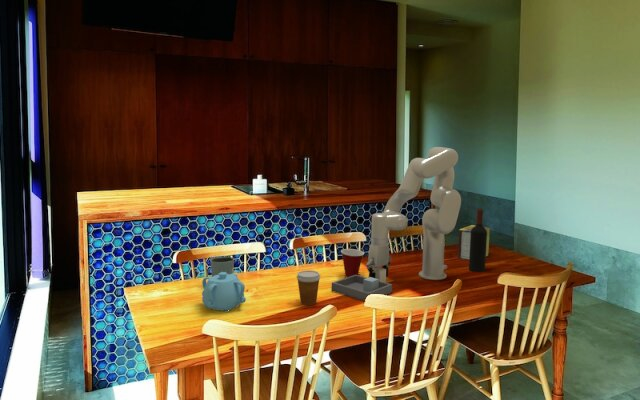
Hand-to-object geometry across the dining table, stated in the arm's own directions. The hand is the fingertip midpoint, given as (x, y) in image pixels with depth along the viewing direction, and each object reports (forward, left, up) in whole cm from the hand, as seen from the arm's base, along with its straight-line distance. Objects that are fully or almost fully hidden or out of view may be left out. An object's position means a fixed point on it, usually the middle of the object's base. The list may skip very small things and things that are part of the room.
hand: (378, 278), depth 238 cm
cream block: (0, 0, -2) cm, 2 cm away
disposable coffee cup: (+41, -4, -2) cm, 41 cm away
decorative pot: (+67, -25, -2) cm, 71 cm away
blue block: (+16, +8, -1) cm, 18 cm away
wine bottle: (-48, +23, -2) cm, 53 cm away
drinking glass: (+52, -46, -2) cm, 69 cm away
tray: (+16, +3, -2) cm, 16 cm away
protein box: (-69, +10, -2) cm, 70 cm away
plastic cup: (+2, -14, -2) cm, 14 cm away
